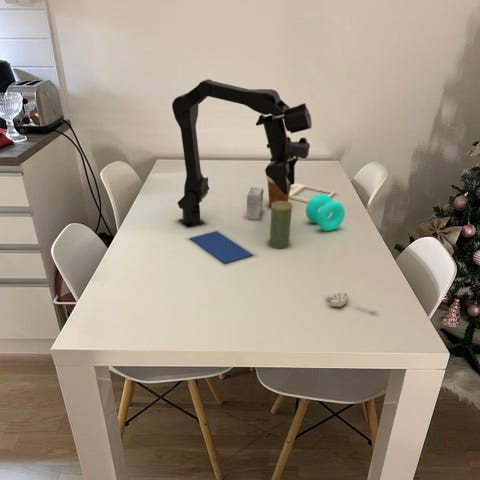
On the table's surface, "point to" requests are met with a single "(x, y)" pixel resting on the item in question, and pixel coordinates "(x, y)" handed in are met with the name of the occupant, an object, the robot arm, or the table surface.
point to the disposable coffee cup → (276, 192)
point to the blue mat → (221, 247)
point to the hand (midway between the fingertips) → (289, 189)
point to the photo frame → (297, 187)
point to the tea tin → (280, 224)
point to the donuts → (325, 212)
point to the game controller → (339, 299)
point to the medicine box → (255, 203)
